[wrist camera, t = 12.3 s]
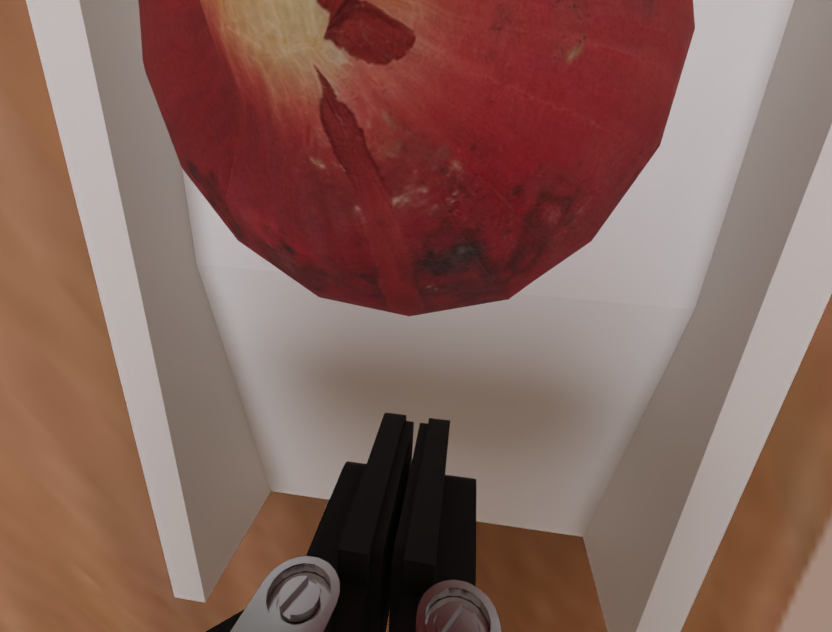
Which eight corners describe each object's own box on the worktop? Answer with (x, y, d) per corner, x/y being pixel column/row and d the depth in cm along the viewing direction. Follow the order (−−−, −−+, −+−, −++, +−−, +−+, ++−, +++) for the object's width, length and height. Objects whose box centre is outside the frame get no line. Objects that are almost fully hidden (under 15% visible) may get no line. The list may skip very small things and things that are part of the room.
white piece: (603, 519, 17) (657, 683, 12) (258, 470, 18) (174, 597, 13) (778, -72, 10) (1096, -297, 5) (195, -74, 11) (-35, -244, 6)
